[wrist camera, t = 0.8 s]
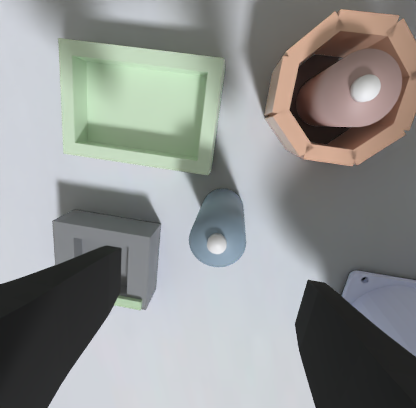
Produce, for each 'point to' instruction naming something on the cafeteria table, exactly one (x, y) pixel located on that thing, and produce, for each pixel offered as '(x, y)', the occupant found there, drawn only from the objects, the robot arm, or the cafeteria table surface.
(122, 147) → the trough
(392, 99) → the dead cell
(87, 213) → the grey button box
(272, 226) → the cafeteria table surface
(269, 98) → the cup
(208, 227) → the cell
